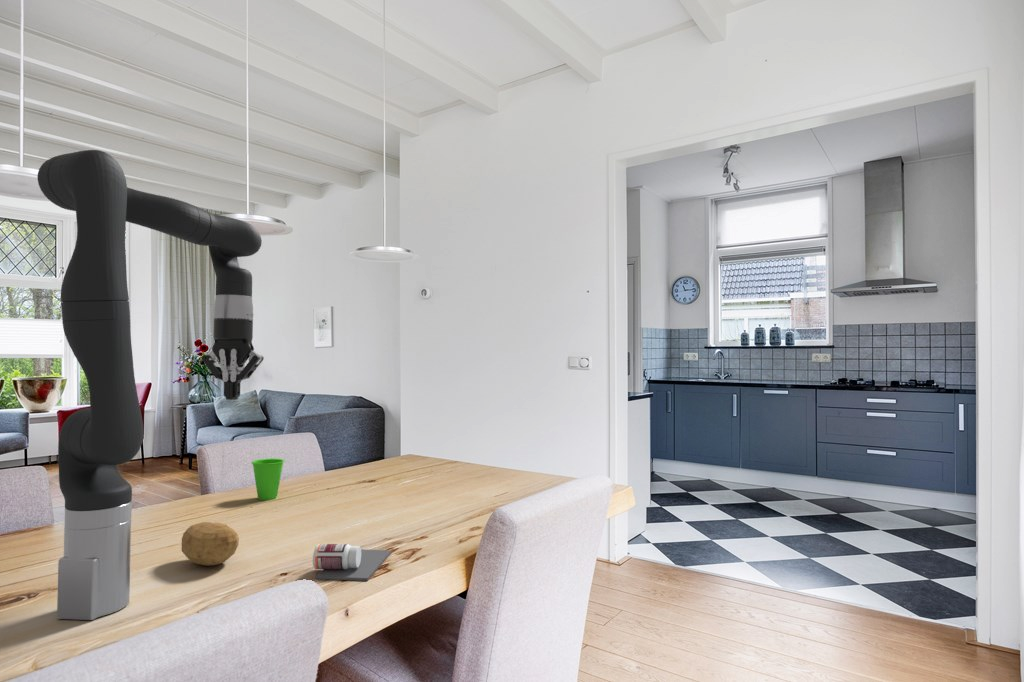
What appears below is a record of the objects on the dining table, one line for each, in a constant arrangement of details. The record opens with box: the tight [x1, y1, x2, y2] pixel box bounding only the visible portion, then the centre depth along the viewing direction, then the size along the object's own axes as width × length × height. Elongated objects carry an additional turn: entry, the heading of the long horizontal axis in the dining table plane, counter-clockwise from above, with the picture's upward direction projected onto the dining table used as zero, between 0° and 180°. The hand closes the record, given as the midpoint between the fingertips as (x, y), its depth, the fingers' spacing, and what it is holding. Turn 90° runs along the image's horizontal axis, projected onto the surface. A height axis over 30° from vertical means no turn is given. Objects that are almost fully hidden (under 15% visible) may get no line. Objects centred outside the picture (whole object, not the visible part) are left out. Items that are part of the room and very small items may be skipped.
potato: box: [181, 521, 240, 567], centre depth 120 cm, size 10×14×8 cm
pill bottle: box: [312, 543, 362, 570], centre depth 116 cm, size 5×5×8 cm
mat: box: [315, 548, 392, 582], centre depth 120 cm, size 16×10×1 cm, turn 176°
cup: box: [251, 457, 285, 501], centre depth 175 cm, size 9×9×11 cm
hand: (232, 399), depth 125 cm, fingers closed
